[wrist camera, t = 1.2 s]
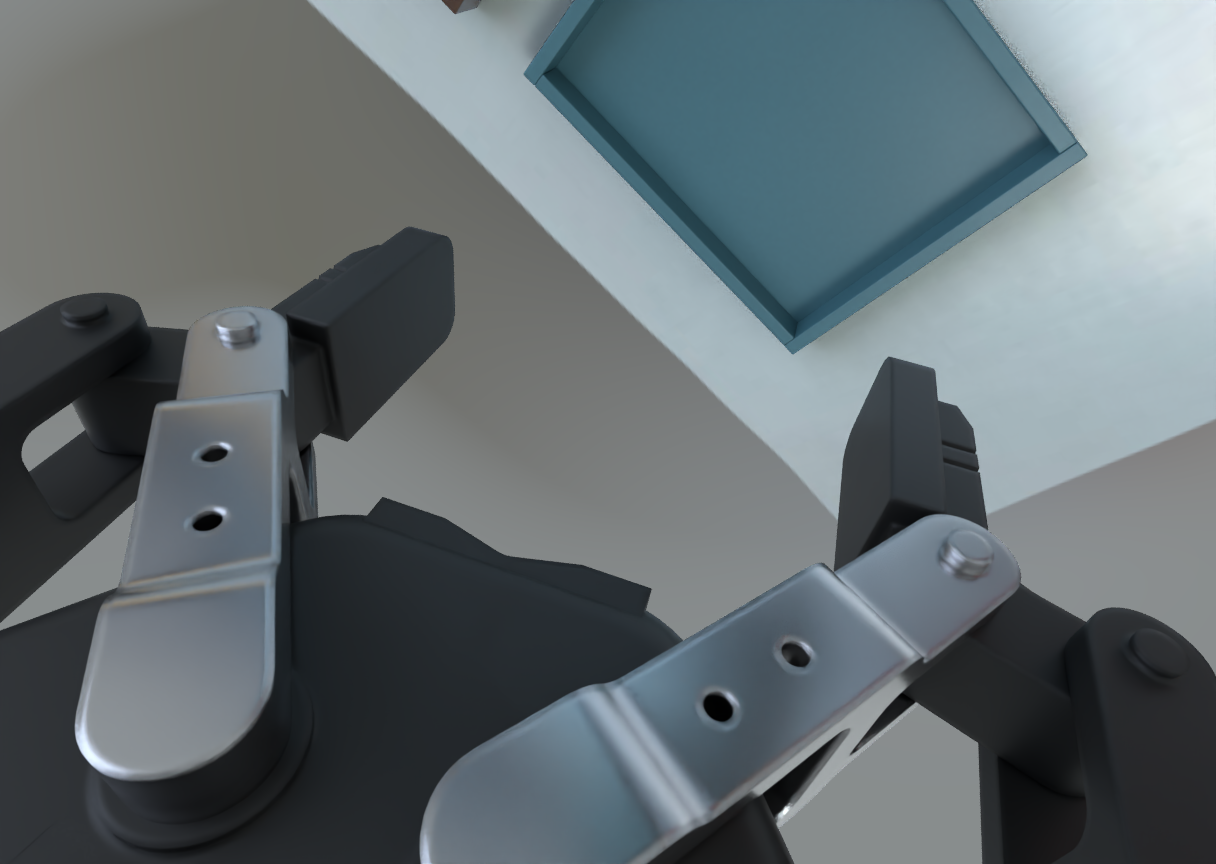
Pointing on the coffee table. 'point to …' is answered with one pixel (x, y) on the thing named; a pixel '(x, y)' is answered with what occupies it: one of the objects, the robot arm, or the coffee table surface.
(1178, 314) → the coffee table surface
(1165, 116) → the coffee table surface
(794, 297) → the tray
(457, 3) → the spice rack
